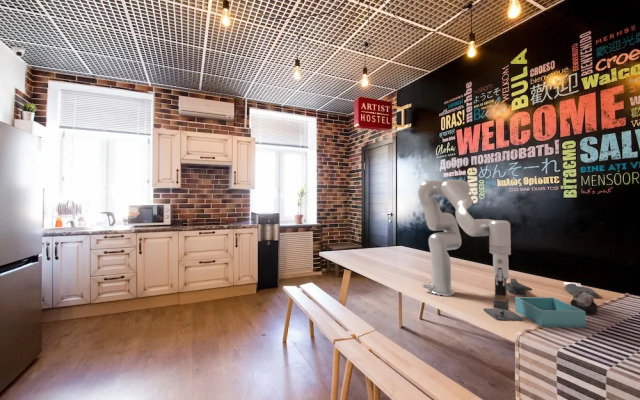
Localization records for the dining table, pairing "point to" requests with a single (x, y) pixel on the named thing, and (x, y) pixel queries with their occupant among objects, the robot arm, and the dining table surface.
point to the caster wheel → (584, 302)
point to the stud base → (502, 314)
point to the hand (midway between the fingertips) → (500, 293)
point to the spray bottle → (578, 289)
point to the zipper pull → (516, 288)
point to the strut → (501, 299)
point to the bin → (550, 312)
